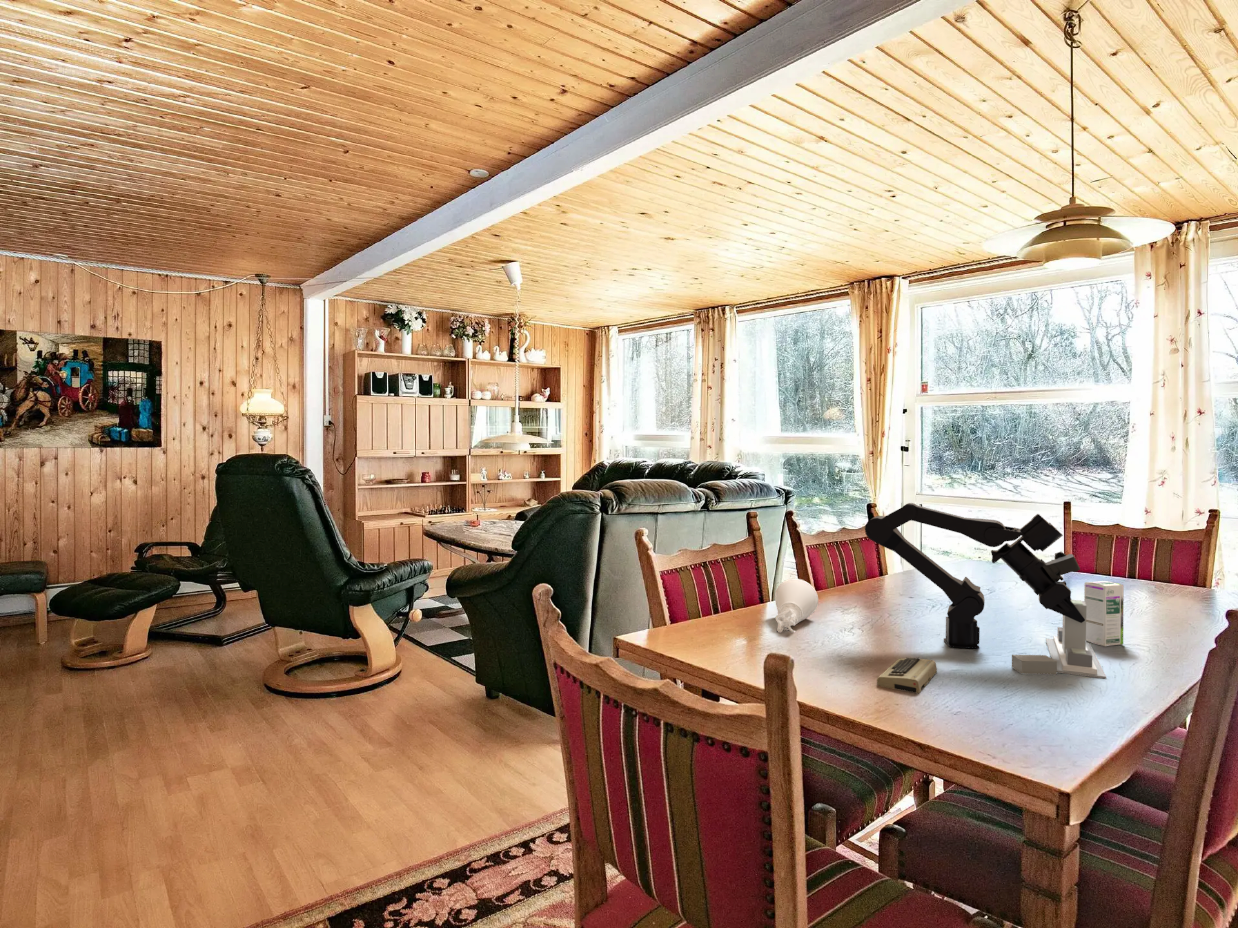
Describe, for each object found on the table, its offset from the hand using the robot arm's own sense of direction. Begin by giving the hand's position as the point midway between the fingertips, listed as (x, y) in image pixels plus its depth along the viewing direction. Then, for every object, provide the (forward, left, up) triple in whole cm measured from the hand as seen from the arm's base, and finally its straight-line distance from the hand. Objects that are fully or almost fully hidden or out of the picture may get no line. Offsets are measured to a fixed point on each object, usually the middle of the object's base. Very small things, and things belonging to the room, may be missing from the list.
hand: (1081, 618), depth 164 cm
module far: (+1, +10, -8) cm, 13 cm away
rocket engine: (-64, +18, -9) cm, 67 cm away
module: (-1, 0, -8) cm, 8 cm away
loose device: (-13, -12, -9) cm, 20 cm away
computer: (-40, -22, -10) cm, 47 cm away
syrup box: (+11, +15, -9) cm, 21 cm away
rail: (-1, 0, -9) cm, 9 cm away
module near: (-4, -9, -8) cm, 13 cm away
